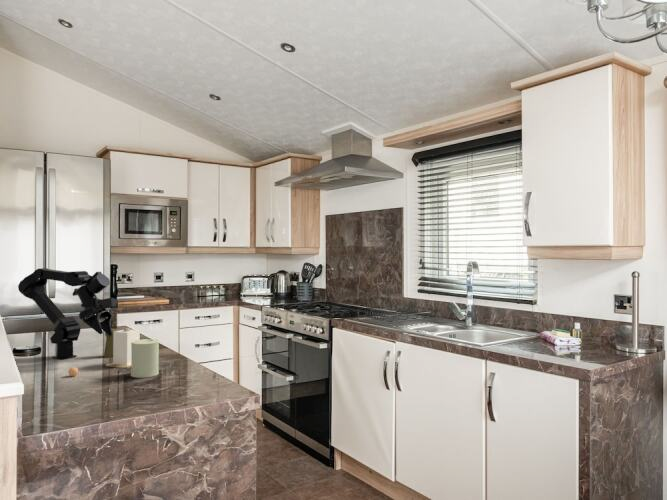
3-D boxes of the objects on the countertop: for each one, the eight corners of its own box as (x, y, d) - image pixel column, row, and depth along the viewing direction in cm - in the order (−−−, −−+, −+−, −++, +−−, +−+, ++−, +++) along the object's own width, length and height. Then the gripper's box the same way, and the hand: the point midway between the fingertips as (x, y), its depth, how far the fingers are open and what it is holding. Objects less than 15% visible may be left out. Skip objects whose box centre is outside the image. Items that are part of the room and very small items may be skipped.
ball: (66, 376, 174) (66, 367, 173) (74, 374, 176) (74, 365, 176) (71, 377, 172) (71, 368, 172) (80, 375, 175) (80, 367, 175)
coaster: (105, 365, 189) (105, 364, 189) (125, 360, 198) (125, 358, 198) (127, 368, 186) (127, 366, 186) (146, 362, 195) (146, 361, 195)
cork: (114, 358, 202) (114, 330, 202) (100, 357, 204) (100, 329, 203) (123, 354, 208) (123, 328, 208) (110, 354, 209) (110, 327, 209)
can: (164, 372, 180) (164, 338, 180) (146, 378, 172) (147, 343, 172) (143, 370, 183) (143, 337, 183) (124, 376, 175) (125, 341, 175)
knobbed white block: (113, 363, 190) (113, 329, 190) (125, 360, 196) (126, 326, 196) (127, 365, 188) (127, 330, 188) (139, 361, 194) (139, 327, 194)
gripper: (98, 285, 190) (116, 321, 188) (117, 293, 209) (133, 326, 206) (70, 300, 189) (88, 337, 186) (91, 306, 207) (108, 340, 204)
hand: (106, 334), depth 195 cm, fingers open, 9 cm apart
